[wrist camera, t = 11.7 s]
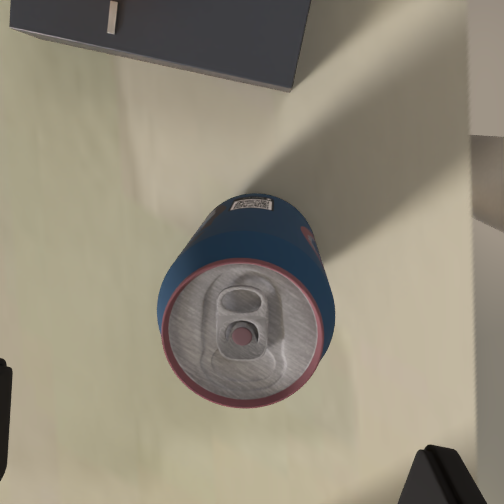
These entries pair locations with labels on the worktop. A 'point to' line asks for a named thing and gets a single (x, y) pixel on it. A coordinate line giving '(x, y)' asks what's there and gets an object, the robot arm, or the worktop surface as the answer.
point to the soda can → (247, 304)
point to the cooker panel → (180, 33)
